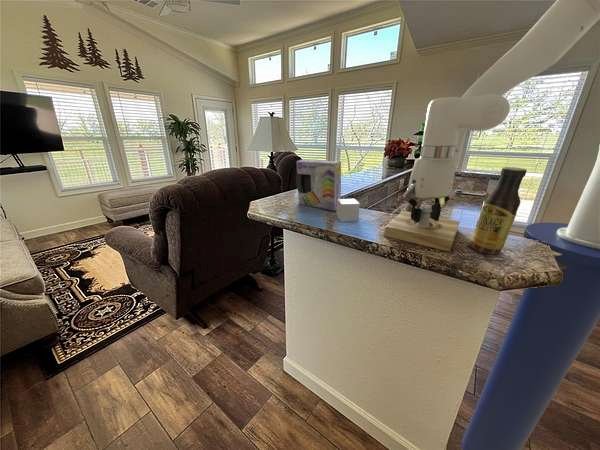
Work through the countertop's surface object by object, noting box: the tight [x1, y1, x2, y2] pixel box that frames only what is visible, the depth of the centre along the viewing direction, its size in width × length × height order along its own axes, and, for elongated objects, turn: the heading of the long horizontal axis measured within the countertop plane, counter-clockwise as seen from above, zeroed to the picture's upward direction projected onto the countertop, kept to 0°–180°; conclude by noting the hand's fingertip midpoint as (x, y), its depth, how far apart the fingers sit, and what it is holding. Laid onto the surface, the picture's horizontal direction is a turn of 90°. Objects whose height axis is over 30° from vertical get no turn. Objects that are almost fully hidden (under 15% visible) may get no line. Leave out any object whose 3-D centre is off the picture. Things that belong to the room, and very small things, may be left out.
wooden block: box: [384, 210, 461, 253], centre depth 67 cm, size 16×16×3 cm
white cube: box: [335, 197, 361, 223], centre depth 79 cm, size 6×6×6 cm
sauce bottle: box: [470, 166, 528, 255], centre depth 54 cm, size 7×6×20 cm
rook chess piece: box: [416, 204, 432, 227], centre depth 66 cm, size 4×4×8 cm
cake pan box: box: [295, 158, 342, 212], centre depth 90 cm, size 19×5×18 cm, turn 48°
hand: (424, 219), depth 66 cm, fingers open, 5 cm apart
